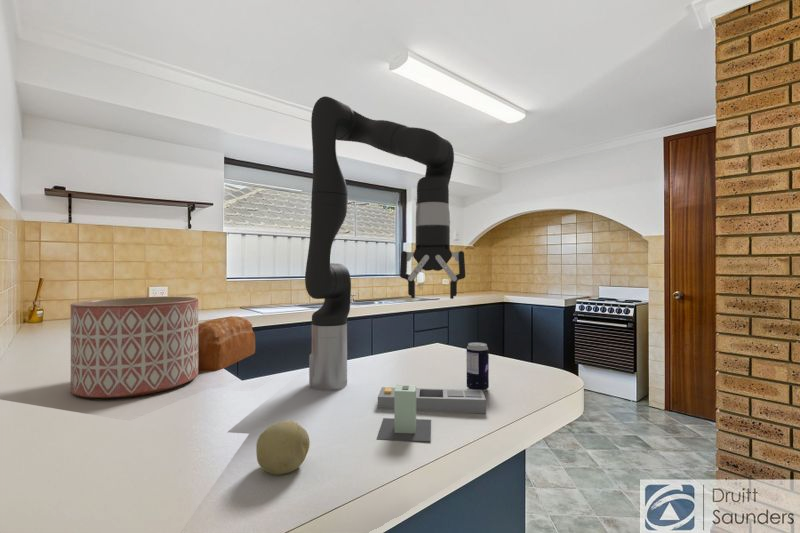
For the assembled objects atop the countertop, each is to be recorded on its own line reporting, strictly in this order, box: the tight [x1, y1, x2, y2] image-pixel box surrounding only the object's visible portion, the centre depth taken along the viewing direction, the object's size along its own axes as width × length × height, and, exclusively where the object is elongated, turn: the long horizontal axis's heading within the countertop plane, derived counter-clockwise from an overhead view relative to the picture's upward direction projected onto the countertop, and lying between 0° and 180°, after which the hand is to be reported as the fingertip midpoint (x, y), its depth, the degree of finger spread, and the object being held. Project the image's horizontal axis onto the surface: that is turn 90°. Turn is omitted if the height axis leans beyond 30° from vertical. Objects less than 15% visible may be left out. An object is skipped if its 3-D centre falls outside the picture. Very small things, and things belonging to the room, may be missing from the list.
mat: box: [376, 417, 432, 444], centre depth 77 cm, size 10×10×1 cm
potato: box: [255, 420, 311, 476], centre depth 61 cm, size 8×8×8 cm
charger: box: [393, 384, 417, 433], centre depth 77 cm, size 4×4×8 cm
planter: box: [70, 296, 199, 399], centre depth 102 cm, size 27×27×24 cm
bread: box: [198, 315, 256, 372], centre depth 127 cm, size 14×26×16 cm, turn 174°
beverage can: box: [466, 341, 490, 393], centre depth 102 cm, size 6×6×12 cm
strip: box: [377, 386, 487, 414], centre depth 90 cm, size 24×7×4 cm, turn 85°
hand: (432, 298), depth 86 cm, fingers open, 8 cm apart
